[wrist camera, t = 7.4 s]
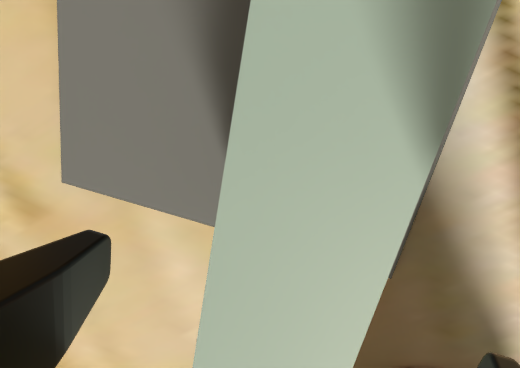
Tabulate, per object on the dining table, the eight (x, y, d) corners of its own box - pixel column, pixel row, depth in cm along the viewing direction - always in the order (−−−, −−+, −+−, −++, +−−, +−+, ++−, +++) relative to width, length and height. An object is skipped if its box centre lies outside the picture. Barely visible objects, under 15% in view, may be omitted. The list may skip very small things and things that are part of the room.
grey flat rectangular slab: (66, 178, 24) (60, 183, 23) (59, -168, 17) (50, -170, 17) (391, 273, 22) (390, 280, 21) (529, -78, 15) (533, -78, 15)
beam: (334, 348, 17) (319, 452, 14) (226, 314, 18) (186, 406, 14) (495, -106, 10) (546, -126, 7) (314, -139, 11) (278, -174, 7)
